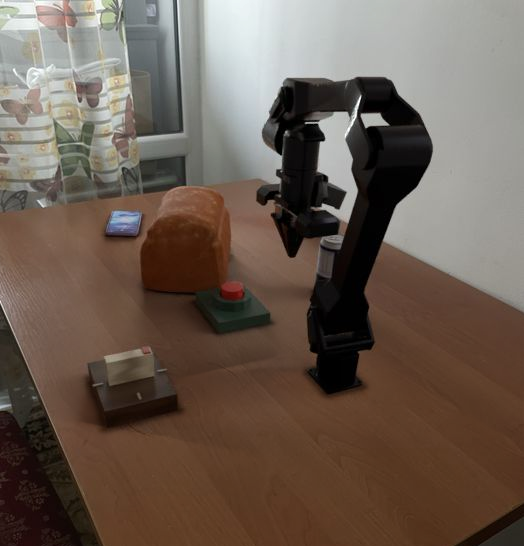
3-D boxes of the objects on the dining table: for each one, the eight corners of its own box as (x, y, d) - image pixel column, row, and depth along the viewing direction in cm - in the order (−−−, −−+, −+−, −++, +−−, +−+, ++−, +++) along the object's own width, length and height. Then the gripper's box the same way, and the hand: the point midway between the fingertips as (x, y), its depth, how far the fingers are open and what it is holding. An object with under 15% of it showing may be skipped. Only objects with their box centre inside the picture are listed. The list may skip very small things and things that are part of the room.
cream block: (109, 386, 77) (106, 361, 74) (106, 379, 78) (103, 354, 76) (154, 376, 79) (152, 351, 77) (151, 369, 81) (149, 345, 78)
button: (246, 298, 99) (246, 289, 98) (226, 302, 98) (226, 293, 97) (237, 288, 102) (238, 280, 101) (217, 292, 100) (217, 283, 100)
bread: (138, 291, 107) (132, 218, 98) (158, 242, 127) (154, 178, 119) (225, 296, 107) (226, 223, 99) (232, 246, 127) (233, 182, 119)
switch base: (180, 409, 78) (179, 392, 76) (104, 429, 74) (101, 411, 72) (156, 364, 87) (155, 348, 85) (87, 379, 83) (84, 362, 81)
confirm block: (269, 323, 99) (271, 303, 97) (218, 333, 95) (218, 313, 93) (243, 293, 108) (243, 275, 106) (195, 302, 104) (195, 283, 102)
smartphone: (141, 211, 141) (137, 233, 129) (142, 214, 142) (137, 236, 129) (112, 210, 140) (105, 232, 128) (112, 213, 141) (105, 235, 128)
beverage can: (341, 302, 107) (349, 245, 100) (312, 298, 108) (318, 241, 101) (343, 289, 112) (351, 234, 105) (315, 286, 113) (322, 230, 106)
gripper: (375, 178, 82) (360, 272, 91) (314, 147, 96) (305, 232, 105) (312, 184, 78) (302, 282, 87) (256, 152, 92) (253, 239, 101)
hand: (291, 257), depth 95 cm, fingers closed
